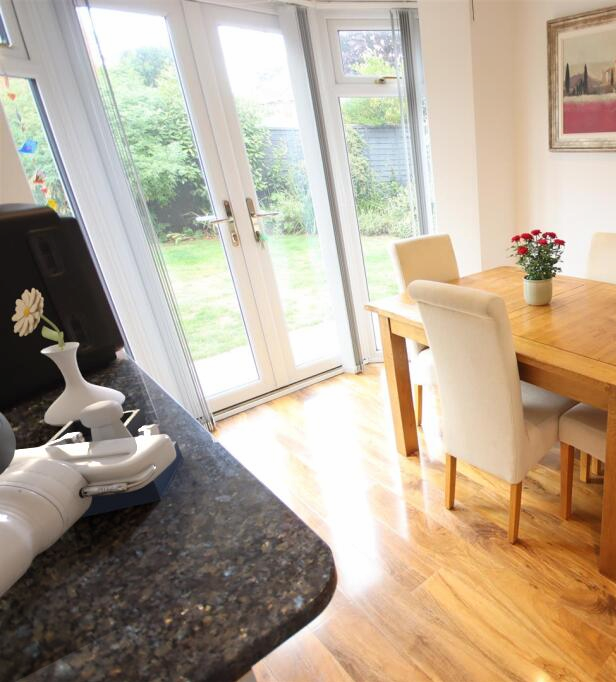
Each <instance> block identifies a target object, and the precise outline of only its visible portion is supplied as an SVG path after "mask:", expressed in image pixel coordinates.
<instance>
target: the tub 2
mask: <svg viewBox="0 0 616 682" xmlns="http://www.w3.org/2000/svg"><path fill="white" fill-rule="evenodd" d="M172 442H173V445H174V447H175V451H176V458H175V460H174V461H173V462H172V463H171V464H170V465H169V466H168V467H167V468H166V469H165V470H164V471H163V472H162V473H161V474H159V475H158V476H157V477H156V478H155V479H154V480H152V481H151V482H150V483H148V484H147V485H145V486H144V487H142V488H140V489H137V490H134V491H130V492H125V493H117V494H109V495H101V496H93V497H92V501H91V504H90V506H89V508H88V510H87V511H86V512H85V513H84V514H83V515H82V516H81V517H80V518H79V519H81V518H86V517H90V516H95V515H101V514H103V513H108V512H109V513H110V512H113V511H117V510H123V509H128V508H131V507H137V506H139V505H140V506H141V505H145V504H150V503H155V502H159V501H162V500H163V498H164V496H165V494H166V493H167V490H168V489H169V487H170V485H171V483H172V481H173V480H174V477H175V475H176V473H177V472H178V469H179V468H180V466H181V464H182V463H183V460H184V457H183V455H182V452H181V449H180V446H179V443H178V441H172Z"/></svg>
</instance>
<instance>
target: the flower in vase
mask: <svg viewBox="0 0 616 682" xmlns="http://www.w3.org/2000/svg"><path fill="white" fill-rule="evenodd" d="M15 305H16V306H15V309H14V310H15V314H13V315H12V317H11V321H12V322H16V323H15V324H14V326H13V328H14V329H13V332H14V334H16V333H19V335H18V336H19V337H23V336H25V337H26V336H28V335H29V334H31V333H33V331H34V330H35V329H36V328H37V326H38V324H39V323H40V321H41V320H40V319H43V320H44V321H45V322H46V323H47V324H49V325H50V326H51V327H52V328H53V329H54V330H53V329H50V328H48V327H46V326H45V325H43V326H42V329H41V335H42V336H43V338H45V339H49V340H51V341H55V342H58V344H54V345H49V346H48V347H45V348H43V349H42V350H40V353H41V354H42V355H45V356H46V357H48V358H50V359H51V360H52V361H53V362H54V363H55V365H57V367H58V369H59V370H60V372H61V374H62V376H63V378H64V382H65V388H64V390H63V392H62V393H61V394H60V396H58V397H57V398H56V400H54V401H53V402H52V404H51V405H50V406H49V407H48V409H47V411H45V413H44V419H43V420H44V422H45V423H46V424H48V425H50V426H53V427H64V426H65V425H66V424H67V423H69V422H70V421H71V420H77V419H80V413H81V411H82V410H83V409H84V408H86V407H87V406H90V405H92V404H94V403H98V402H101V401H107V400H113V401H116V402H118V403H120V405H121V406H122V407H123V404H124V403H125V400H126V396H125V395H124V394H123V393H122V392H121V391H119V390H116V389H114V388H109V387H106V386H102V385H101V386H100V385H96V384H93V383H90V382H88V381H87V380H85V379H84V377H83V376H82V373H81V371H80V369H79V366H78V365H79V364H78V361H77V351H78V348H79V347H80V343H79V342H76V341H71V342H70V341H69V342H68V341H67V342H64V332H63V331H60V330H59V328H58V327H57V326H56V324H54V323H53V322H52V321H51V320H49V319H48V318H47V317H45V316H44V315H43V313H44V310H43V308H44V297H43V296H42V293H41V292H39V290H38V289H35V288H34V287H32V288H31V292H30V291H29V290H28V289H25V290H24V292H23V293H22V294H21V299H19V298H18V299H16V301H15Z"/></svg>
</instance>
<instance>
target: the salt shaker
mask: <svg viewBox="0 0 616 682" xmlns="http://www.w3.org/2000/svg"><path fill="white" fill-rule="evenodd" d="M123 412H124V409H123V405H122V406H121V405H120V403H118V402H116V401H113V400H107V401H101V402H98V403H94V404H92V405H90V406H87V407H86V408H84V409H83V410H82V411H81V413H80V421H81V422H82V424H83V425H84V426H86V427H88V428H91V433H92V440H93V442H94V441H103V440H112V439H122V438H131V437H133V436H132V435H131V434H130V432H129V431H128V430H127V428H126V427H125V426H124V424H123V423H122V422H121V420H120V418H121V417H122V416H123Z"/></svg>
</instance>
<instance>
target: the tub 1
mask: <svg viewBox="0 0 616 682" xmlns="http://www.w3.org/2000/svg"><path fill="white" fill-rule="evenodd" d="M120 420H121V422H122V423H123V424H124V426H125V427H126V428H127V430H128V431H129V432H130V434H131V435H132V436H133V437H139V436H140V435H139V433H138V430H139V429H140V428H142V426H144V425H147V423H146V420H145V417H144V415H143V413H142V410H141V408H138V409H133V410H126V411H123V416H122V417H121V418H120ZM78 432H81V433H82V437H83V438H84V439H85V442H93V440H92V433H91V428H88V427H86V426H84V425H83V424H82V422H81V421H80V419H77V420H71V421H70V422H69V423H67V424H66V425H65V426H62V428H61V429H60V430H59V431H58V432H57V433H56V434H55V435H53V436H52V437H51V439H49V440H48V441H47V442H46V443H45V444H48V443H50V442H53V441H56V440H58V439H60V438H62V437H63V436H65V435H66V434H68V433H78ZM85 442H84V443H85Z"/></svg>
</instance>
